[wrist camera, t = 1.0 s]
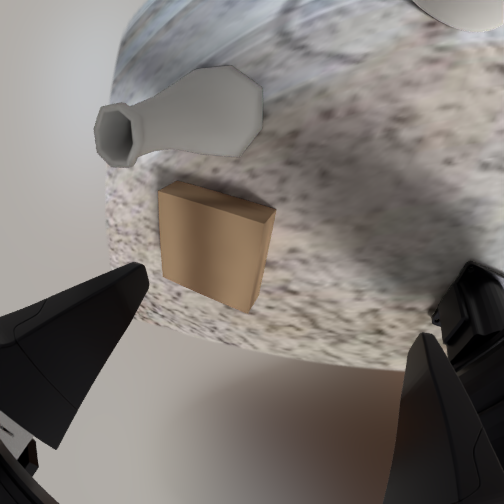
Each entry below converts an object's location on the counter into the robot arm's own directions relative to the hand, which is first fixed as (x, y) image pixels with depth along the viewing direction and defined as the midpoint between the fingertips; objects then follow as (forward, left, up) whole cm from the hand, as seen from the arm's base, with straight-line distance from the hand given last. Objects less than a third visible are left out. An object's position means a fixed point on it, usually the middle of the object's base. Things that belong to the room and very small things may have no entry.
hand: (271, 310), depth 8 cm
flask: (+9, -3, -13) cm, 16 cm away
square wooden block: (+8, +8, -13) cm, 17 cm away
